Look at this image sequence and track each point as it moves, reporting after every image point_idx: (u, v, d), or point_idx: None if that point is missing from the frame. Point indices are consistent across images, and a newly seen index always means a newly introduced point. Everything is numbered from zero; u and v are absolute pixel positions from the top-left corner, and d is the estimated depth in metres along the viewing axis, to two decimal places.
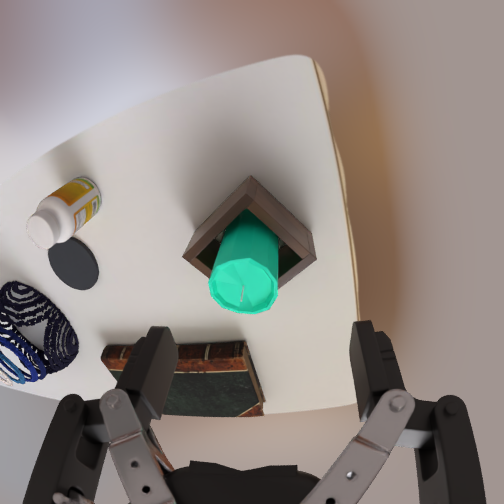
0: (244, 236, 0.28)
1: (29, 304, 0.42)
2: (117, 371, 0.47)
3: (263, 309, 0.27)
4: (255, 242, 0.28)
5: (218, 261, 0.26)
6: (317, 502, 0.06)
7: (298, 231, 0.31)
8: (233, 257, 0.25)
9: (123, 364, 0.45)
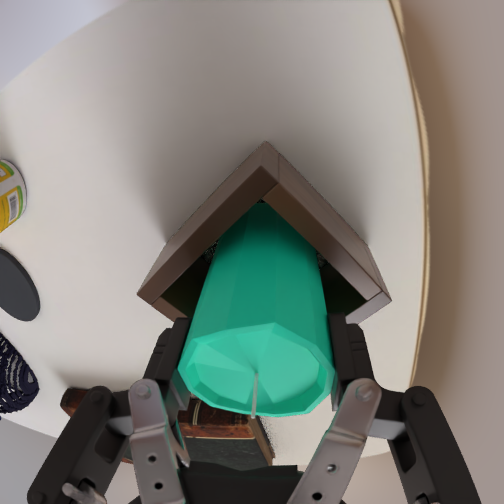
0: (256, 261, 0.13)
1: None
2: None
3: (297, 412, 0.12)
4: (283, 277, 0.12)
5: (198, 323, 0.11)
6: (317, 502, 0.06)
7: (357, 247, 0.16)
8: (233, 321, 0.10)
9: None
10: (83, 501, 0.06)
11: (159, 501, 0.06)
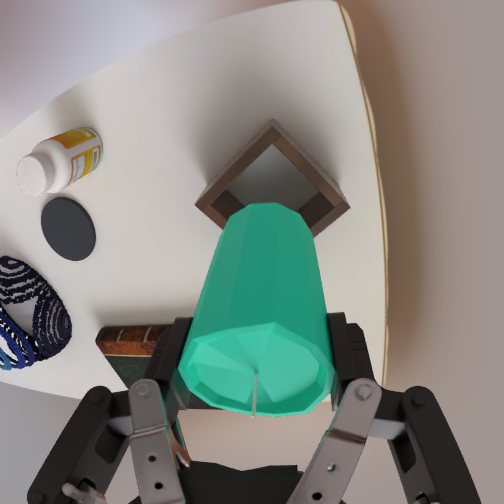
0: (256, 261, 0.13)
1: (18, 279, 0.37)
2: (113, 356, 0.42)
3: (297, 412, 0.12)
4: (283, 277, 0.12)
5: (199, 323, 0.11)
6: (317, 502, 0.06)
7: (328, 178, 0.27)
8: (233, 321, 0.10)
9: (120, 348, 0.41)
10: (83, 501, 0.06)
11: (159, 501, 0.06)
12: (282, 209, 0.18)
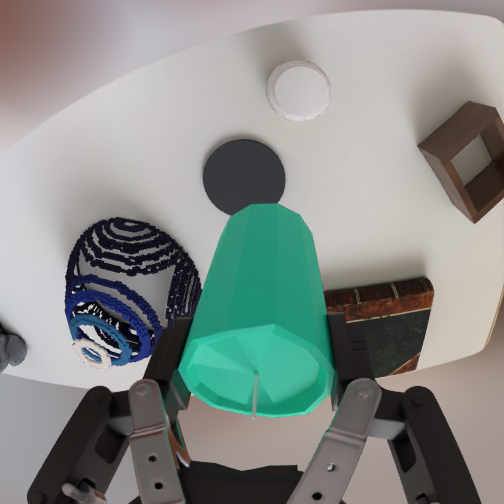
0: (257, 262, 0.13)
1: (148, 244, 0.35)
2: None
3: (297, 413, 0.12)
4: (284, 278, 0.12)
5: (199, 324, 0.11)
6: (317, 502, 0.06)
7: None
8: (233, 322, 0.10)
9: None
10: (83, 501, 0.06)
11: (159, 501, 0.06)
12: (282, 210, 0.18)
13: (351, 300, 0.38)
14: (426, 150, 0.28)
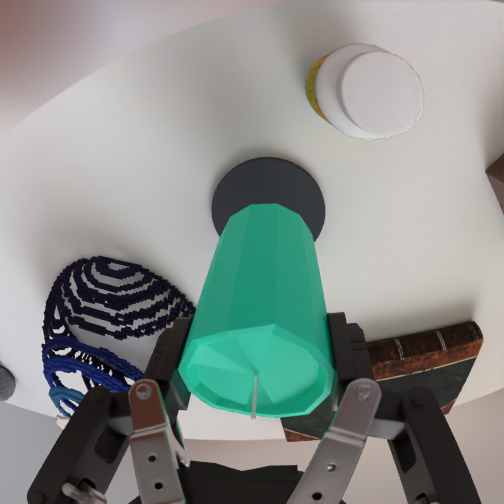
0: (256, 262, 0.13)
1: (140, 296, 0.27)
2: None
3: (297, 413, 0.12)
4: (283, 278, 0.12)
5: (198, 324, 0.11)
6: (317, 502, 0.06)
7: None
8: (233, 323, 0.10)
9: None
10: (83, 501, 0.06)
11: (159, 501, 0.06)
12: (282, 210, 0.18)
13: (393, 355, 0.29)
14: (500, 179, 0.19)
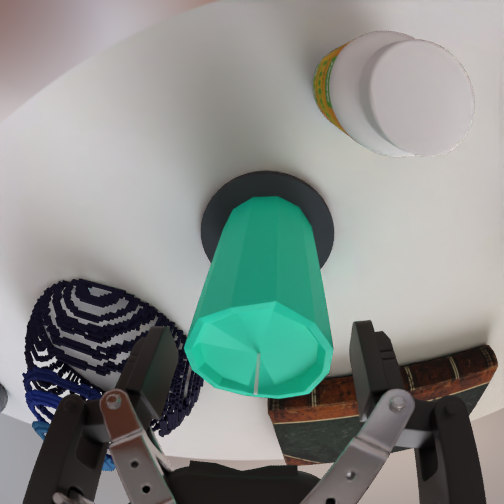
0: (258, 248, 0.14)
1: (124, 326, 0.23)
2: (291, 424, 0.28)
3: (298, 393, 0.13)
4: (284, 262, 0.13)
5: (204, 304, 0.12)
6: (317, 502, 0.06)
7: None
8: (237, 300, 0.11)
9: (314, 413, 0.27)
10: None
11: None
12: (282, 202, 0.19)
13: None
14: None
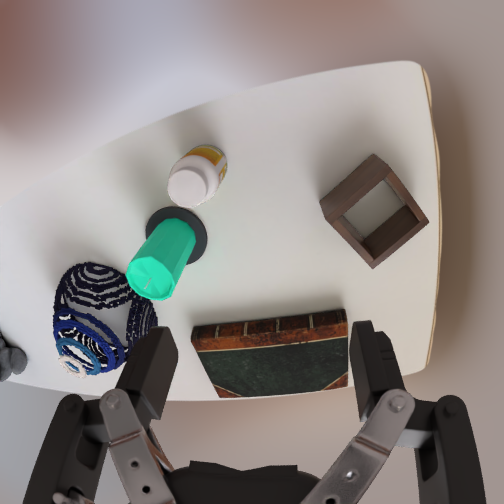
0: (154, 240, 0.36)
1: (111, 285, 0.45)
2: (207, 352, 0.50)
3: (167, 296, 0.34)
4: (161, 245, 0.35)
5: (132, 259, 0.34)
6: (317, 502, 0.06)
7: None
8: (139, 256, 0.33)
9: (218, 343, 0.48)
10: None
11: None
12: (177, 221, 0.41)
13: (272, 328, 0.47)
14: (322, 208, 0.37)
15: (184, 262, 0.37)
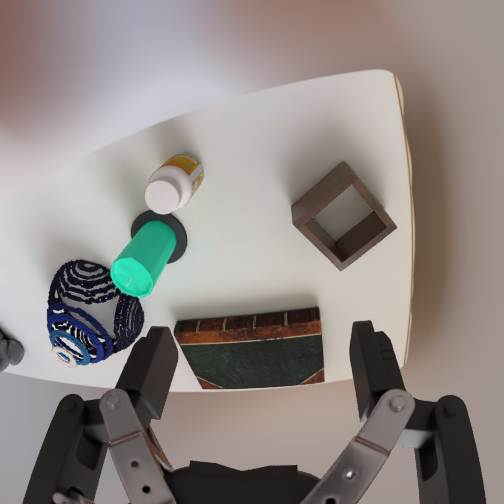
0: (136, 242, 0.38)
1: (100, 281, 0.47)
2: (189, 345, 0.53)
3: (146, 293, 0.37)
4: (141, 247, 0.38)
5: (116, 259, 0.36)
6: (317, 502, 0.06)
7: (381, 206, 0.37)
8: (121, 257, 0.35)
9: (198, 337, 0.51)
10: None
11: None
12: (159, 223, 0.43)
13: (248, 324, 0.50)
14: (292, 212, 0.40)
15: (164, 262, 0.40)
